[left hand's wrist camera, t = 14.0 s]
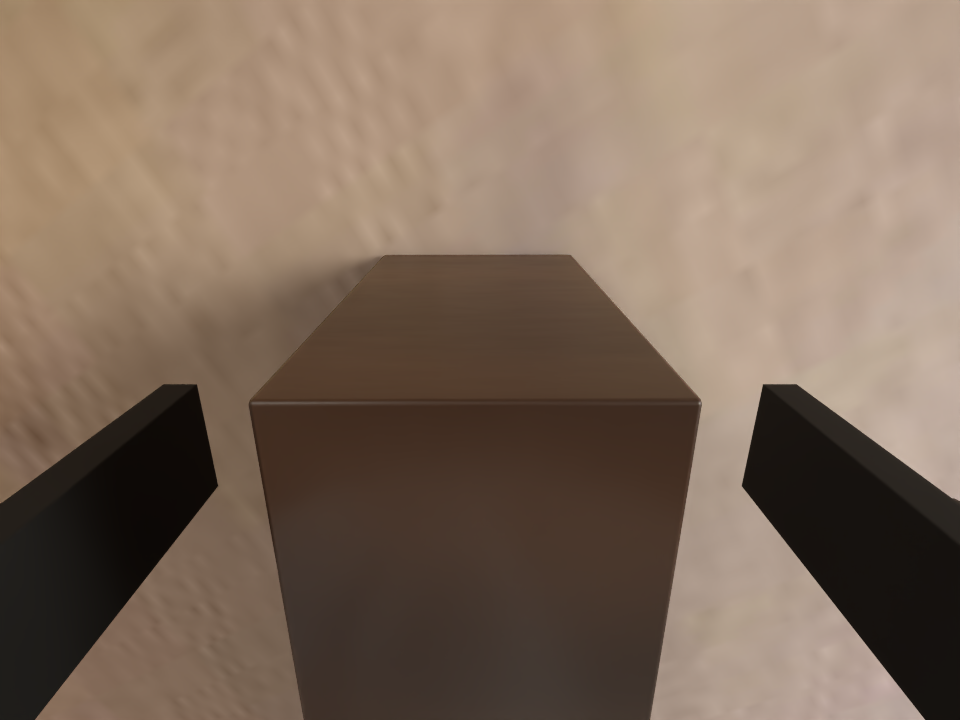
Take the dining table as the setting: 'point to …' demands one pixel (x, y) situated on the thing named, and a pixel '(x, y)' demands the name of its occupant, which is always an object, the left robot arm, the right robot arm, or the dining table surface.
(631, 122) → the dining table surface
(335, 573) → the beam
